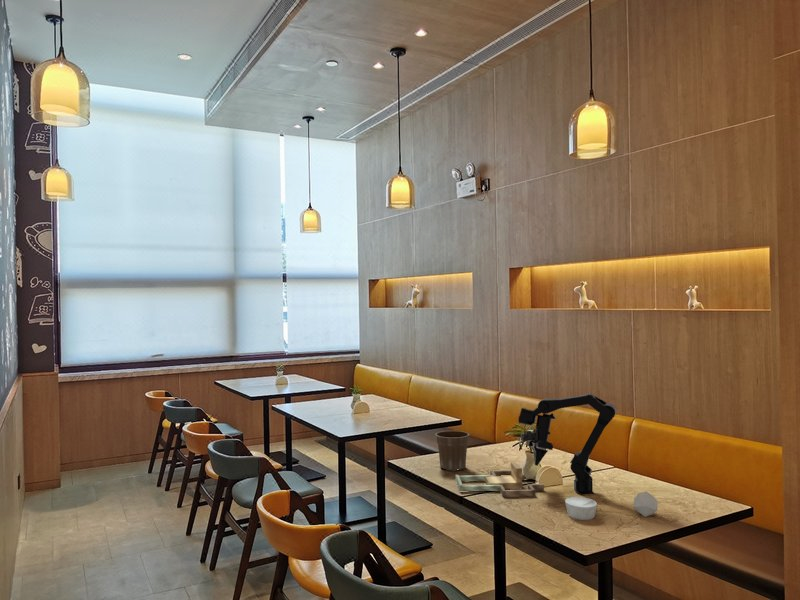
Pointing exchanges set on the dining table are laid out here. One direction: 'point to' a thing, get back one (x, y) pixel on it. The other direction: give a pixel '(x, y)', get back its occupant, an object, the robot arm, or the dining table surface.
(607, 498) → the dining table surface
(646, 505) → the die
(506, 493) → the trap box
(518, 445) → the dining table surface
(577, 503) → the ramekin
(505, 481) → the beige l-shaped bracket
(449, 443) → the plant pot
